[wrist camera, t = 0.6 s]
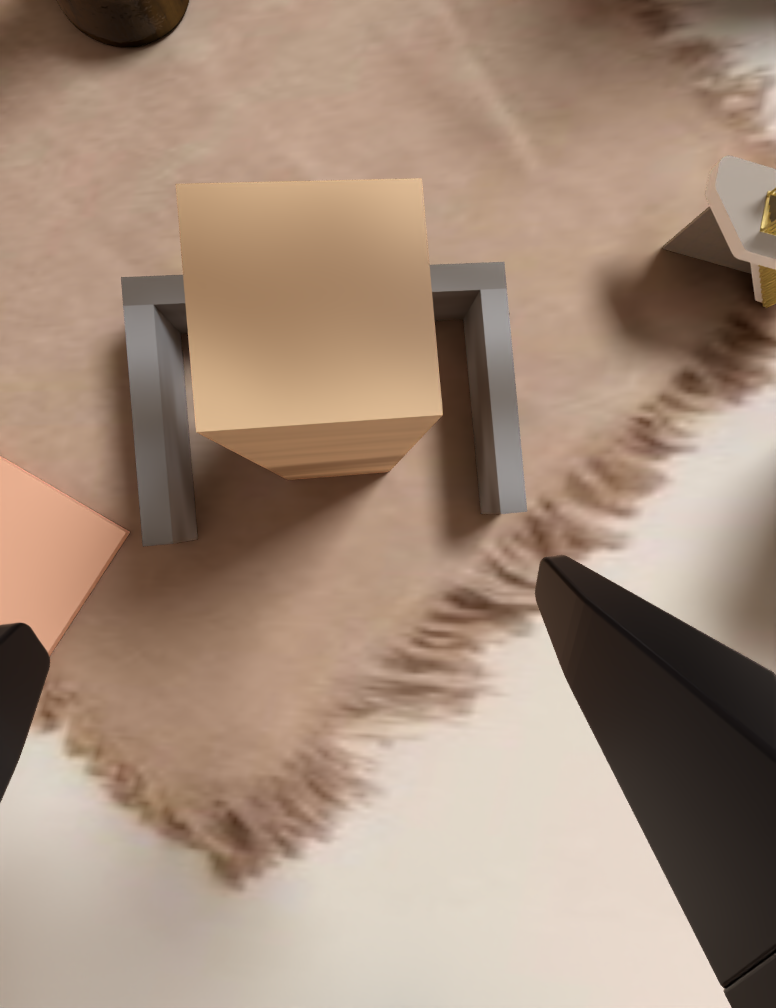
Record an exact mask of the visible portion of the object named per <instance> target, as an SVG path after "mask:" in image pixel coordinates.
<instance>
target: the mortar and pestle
mask: <svg viewBox="0 0 776 1008" xmlns="http://www.w3.org/2000/svg"><path fill="white" fill-rule="evenodd" d="M57 2H58V4H59V6H60V7H61V9H62V10H63V12H64V13H65V15H66V16H67V17H68V18H69V20H70V21H71V22H72V23H73V24H74V25H75V26H76V27H77V28H78V29H79V30H81V31H82V32H83V33H85V34H86V35H88V36H90V37H92V38H93V39H95V40H97V41H100V42H103V43H105V44H109V45H112V46H118V47H137V46H142V45H144V44H148V43H151V42H153V41H155V40H157V39H159V38H161V37H163V36H164V35H166V34H167V33H168V32H170V31H171V30H172V29H173V28H174V27H175V26H176V25H177V24H178V22H179V21H180V20H181V18H182V17H183V15H184V13H185V11H186V8H187V5H188V3H189V0H57Z"/></svg>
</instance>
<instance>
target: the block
mask: <svg viewBox="0 0 776 1008" xmlns="http://www.w3.org/2000/svg"><path fill="white" fill-rule="evenodd" d="M176 195H177V207H178V219H179V231H180V243H181V256H182V268H183V280H184V292H185V304H186V316H187V328H188V340H189V353H190V365H191V377H192V389H193V401H194V413H195V425H196V432H197V433H199V434H201V435H203V436H204V437H206V438H208V439H210V440H212V441H214V442H216V443H218V444H220V445H222V446H224V447H225V448H227V449H229V450H231V451H233V452H235V453H237V454H239V455H241V456H243V457H245V458H247V459H248V460H250V461H252V462H254V463H256V464H258V465H260V466H262V467H264V468H266V469H268V470H269V471H271V472H273V473H275V474H277V475H279V476H281V477H283V478H285V479H287V480H296V479H309V478H321V477H334V476H346V475H359V474H371V473H384V472H389V471H390V470H391V469H392V468H393V467H394V466H395V465H396V464H397V463H398V462H399V461H400V460H401V459H402V458H403V457H404V456H405V454H406V453H407V452H408V451H409V450H410V449H411V448H412V447H413V446H414V445H415V444H416V443H417V442H418V441H419V440H420V439H421V438H422V436H423V435H424V434H425V433H426V432H427V431H428V430H429V429H430V428H431V427H432V426H433V425H434V424H435V423H436V422H437V421H438V420H439V419H440V417H441V416H442V415H443V410H442V399H441V388H440V377H439V365H438V354H437V343H436V332H435V321H434V310H433V298H432V287H431V276H430V265H429V254H428V243H427V231H426V220H425V209H424V198H423V187H422V178H414V179H370V180H326V181H282V182H238V183H195V184H176Z"/></svg>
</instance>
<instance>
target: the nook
mask: <svg viewBox="0 0 776 1008" xmlns="http://www.w3.org/2000/svg"><path fill="white" fill-rule="evenodd" d="M430 276H431V287H432V298H433V310H434V321H438V320H457V319H463V321H464V332H465V343H466V354H467V365H468V376H469V387H470V398H471V410H472V421H473V432H474V443H475V454H476V465H477V476H478V487H479V498H480V509H481V514H506V513H517V512H527V505H526V494H525V483H524V472H523V461H522V450H521V439H520V428H519V417H518V406H517V395H516V384H515V374H514V363H513V352H512V341H511V330H510V319H509V308H508V297H507V286H506V275H505V264H504V262H490V263H465V264H440V265H430ZM121 284H122V296H123V308H124V321H125V333H126V346H127V358H128V370H129V383H130V395H131V407H132V420H133V432H134V445H135V457H136V469H137V482H138V494H139V506H140V519H141V531H142V544H143V546H153V545H164V544H174V543H180V542H186V541H191V540H197V539H198V536H197V523H196V511H195V499H194V487H193V475H192V463H191V451H190V438H189V426H188V414H187V402H186V390H185V378H184V366H183V353H182V341H181V334H184V333H188V328H187V316H186V304H185V292H184V280H183V275H166V276H141V277H121Z"/></svg>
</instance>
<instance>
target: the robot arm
mask: <svg viewBox="0 0 776 1008" xmlns="http://www.w3.org/2000/svg"><path fill="white" fill-rule="evenodd" d="M535 597H536V602H537V605H538V607H539V610H540V612H541V615H542V618H543V620H544V623H545V626H546V628H547V631H548V634H549V636H550V639H551V642H552V644H553V647H554V650H555V652H556V655H557V658H558V660H559V663H560V666H561V668H562V670H563V673H564V675H565V678H566V680H567V682H568V684H569V686H570V688H571V690H572V692H573V694H574V696H575V698H576V700H577V702H578V704H579V706H580V708H581V710H582V712H583V714H584V716H585V718H586V720H587V722H588V724H589V726H590V728H591V730H592V732H593V734H594V736H595V738H596V740H597V742H598V744H599V746H600V748H601V749H602V751H603V753H604V755H605V757H606V759H607V761H608V763H609V765H610V767H611V769H612V771H613V773H614V775H615V777H616V779H617V781H618V783H619V785H620V787H621V789H622V791H623V793H624V795H625V797H626V799H627V801H628V803H629V805H630V807H631V809H632V811H633V813H634V815H635V817H636V819H637V821H638V823H639V825H640V827H641V829H642V831H643V833H644V834H645V836H646V838H647V840H648V842H649V844H650V846H651V848H652V850H653V852H654V854H655V856H656V858H657V860H658V862H659V864H660V866H661V868H662V870H663V872H664V874H665V876H666V878H667V880H668V882H669V884H670V886H671V888H672V890H673V892H674V894H675V896H676V898H677V900H678V902H679V904H680V906H681V908H682V910H683V912H684V914H685V916H686V918H687V919H688V921H689V923H690V925H691V927H692V929H693V931H694V933H695V935H696V937H697V939H698V941H699V943H700V945H701V947H702V949H703V951H704V953H705V955H706V957H707V959H708V961H709V963H710V965H711V967H712V969H713V971H714V973H715V975H716V977H717V979H718V981H719V983H720V985H721V986H722V987H723V988H724V993H725V995H726V997H727V999H728V1001H729V1003H730V1005H731V1007H732V1008H776V675H775V674H774V672H772V671H770V670H768V669H767V668H765V667H763V666H761V665H760V664H758V663H756V662H754V661H752V660H751V659H749V658H747V657H745V656H744V655H742V654H740V653H738V652H736V651H735V650H733V649H731V648H729V647H728V646H726V645H724V644H722V643H720V642H719V641H717V640H715V639H713V638H712V637H710V636H708V635H706V634H704V633H703V632H701V631H699V630H697V629H696V628H694V627H692V626H690V625H688V624H687V623H685V622H683V621H681V620H680V619H678V618H676V617H674V616H672V615H671V614H669V613H667V612H665V611H664V610H662V609H660V608H658V607H656V606H655V605H653V604H651V603H649V602H648V601H646V600H644V599H642V598H640V597H639V596H637V595H635V594H633V593H632V592H630V591H628V590H626V589H624V588H623V587H621V586H619V585H617V584H616V583H614V582H612V581H610V580H608V579H607V578H605V577H603V576H601V575H600V574H598V573H596V572H594V571H592V570H591V569H589V568H587V567H585V566H584V565H582V564H580V563H578V562H576V561H575V560H573V559H571V558H569V557H567V556H565V555H557V556H549V557H545V558H543V559H542V560H541V562H540V565H539V571H538V577H537V582H536V588H535ZM49 667H50V657H49V654H48V652H47V650H46V649H45V647H44V646H43V644H42V643H41V642H40V640H39V639H38V637H37V636H36V634H35V633H34V631H33V630H32V628H31V627H30V626H29V625H27V624H25V623H21V622H18V623H10V624H2V625H0V802H1V800H2V798H3V796H4V793H5V791H6V789H7V786H8V784H9V782H10V780H11V777H12V775H13V773H14V770H15V768H16V765H17V763H18V761H19V758H20V755H21V752H22V750H23V747H24V744H25V741H26V738H27V735H28V732H29V729H30V726H31V723H32V720H33V717H34V714H35V711H36V708H37V705H38V702H39V698H40V695H41V692H42V689H43V686H44V683H45V680H46V677H47V674H48V671H49Z"/></svg>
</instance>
